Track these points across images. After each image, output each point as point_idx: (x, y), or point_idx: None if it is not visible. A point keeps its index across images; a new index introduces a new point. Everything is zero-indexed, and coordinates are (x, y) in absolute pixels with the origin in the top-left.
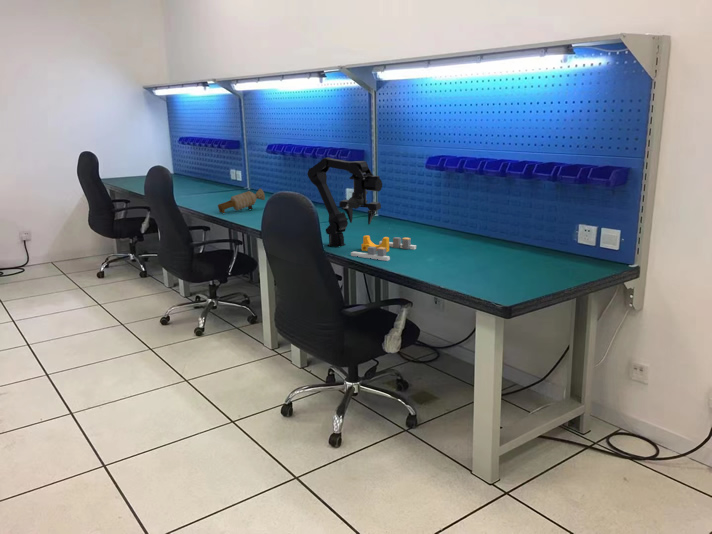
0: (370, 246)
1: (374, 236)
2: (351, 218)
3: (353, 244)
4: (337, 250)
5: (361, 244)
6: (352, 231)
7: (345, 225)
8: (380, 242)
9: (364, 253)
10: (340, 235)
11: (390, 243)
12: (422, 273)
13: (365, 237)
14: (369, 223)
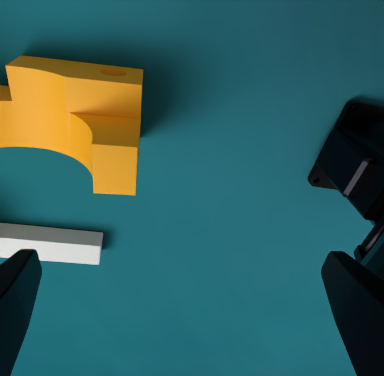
0: (43, 70)
1: (205, 339)
2: (354, 317)
3: (260, 202)
4: (338, 12)
5: (140, 83)
6: (320, 362)
7: (379, 264)
8: (89, 243)
9: None
10: (375, 176)
11: (7, 237)
12: None
13: (109, 141)
14: (9, 265)
